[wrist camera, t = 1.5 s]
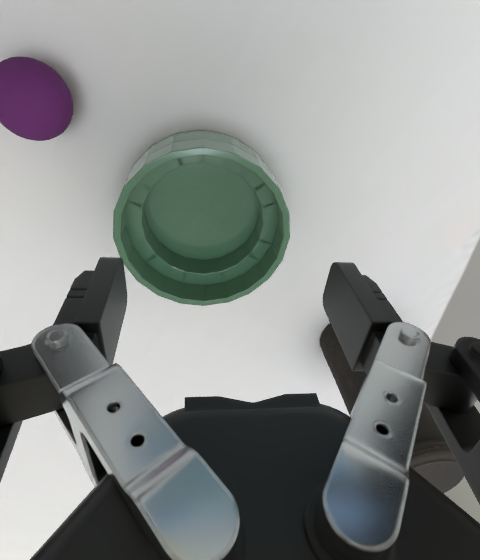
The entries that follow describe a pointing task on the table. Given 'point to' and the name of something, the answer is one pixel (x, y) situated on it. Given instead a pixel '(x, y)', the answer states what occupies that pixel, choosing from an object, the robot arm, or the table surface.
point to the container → (429, 441)
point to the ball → (33, 99)
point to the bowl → (201, 219)
